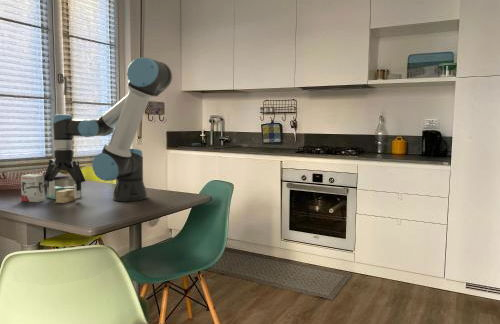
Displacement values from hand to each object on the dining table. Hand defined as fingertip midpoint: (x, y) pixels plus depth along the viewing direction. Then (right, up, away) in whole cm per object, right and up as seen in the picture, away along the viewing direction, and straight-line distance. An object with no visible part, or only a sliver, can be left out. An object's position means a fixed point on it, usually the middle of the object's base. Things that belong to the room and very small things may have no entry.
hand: (64, 196), depth 178 cm
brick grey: (-1, -1, +10) cm, 10 cm away
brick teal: (-8, -1, +9) cm, 12 cm away
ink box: (-14, -2, 0) cm, 14 cm away
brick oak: (0, -2, 0) cm, 2 cm away
